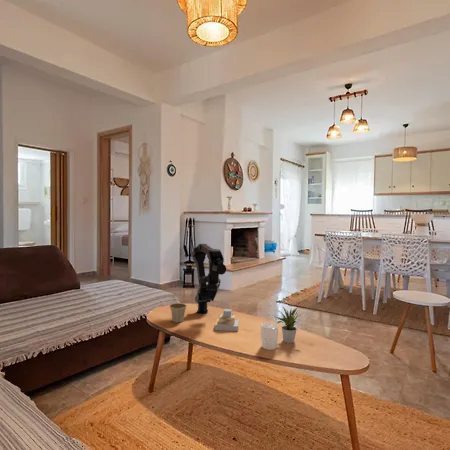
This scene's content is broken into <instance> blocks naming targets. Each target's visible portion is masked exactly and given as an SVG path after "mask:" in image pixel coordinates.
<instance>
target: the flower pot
mask: <svg viewBox="0 0 450 450" xmlns="http://www.w3.org/2000/svg"><path fill="white" fill-rule="evenodd" d="M187 306H188V305H187V304H185V303H173V304H169V307H170V311H171V313H170V314H171V319H172V322H173V323H176V324H177V323H182V322H184V319H185V313H186V309H187Z"/></svg>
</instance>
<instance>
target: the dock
mask: <svg viewBox="0 0 450 450" xmlns="http://www.w3.org/2000/svg"><path fill="white" fill-rule="evenodd" d="M239 325H240V319H236V318H235V324H219V318H216V322H215V323H214V330H215V331H225V332H226V331H227V332H228V331H229V332H238V331H239Z"/></svg>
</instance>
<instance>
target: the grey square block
mask: <svg viewBox="0 0 450 450" xmlns="http://www.w3.org/2000/svg"><path fill="white" fill-rule="evenodd" d="M232 312H233V311H232V308H229V309H228V308H223V313H222V314H223V317H231V314H232Z"/></svg>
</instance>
